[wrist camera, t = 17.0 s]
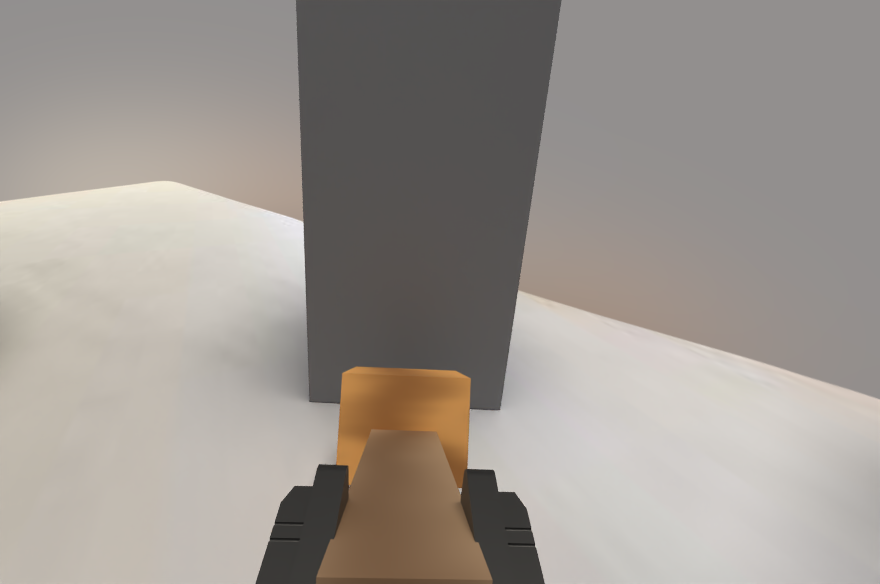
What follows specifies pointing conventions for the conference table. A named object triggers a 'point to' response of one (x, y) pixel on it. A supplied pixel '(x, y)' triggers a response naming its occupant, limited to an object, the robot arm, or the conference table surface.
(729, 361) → the conference table surface
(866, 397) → the conference table surface
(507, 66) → the pedestal
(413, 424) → the mallet
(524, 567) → the robot arm
